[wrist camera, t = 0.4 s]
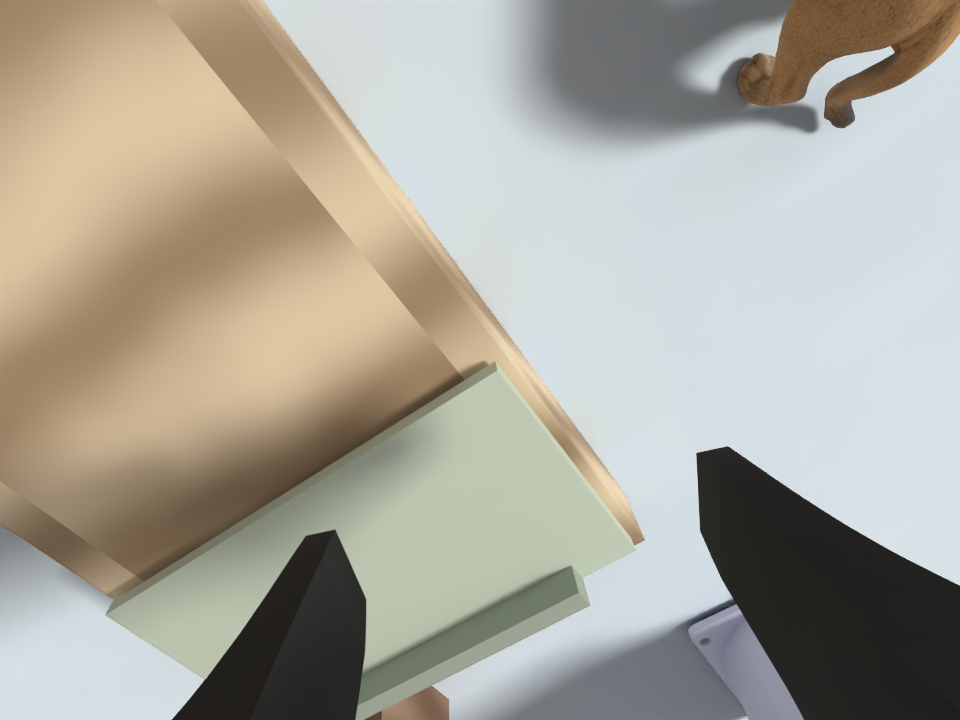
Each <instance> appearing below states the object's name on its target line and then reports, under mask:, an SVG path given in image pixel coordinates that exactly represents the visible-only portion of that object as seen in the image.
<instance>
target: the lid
mask: <svg viewBox="0 0 960 720" xmlns="http://www.w3.org/2000/svg"><path fill="white" fill-rule="evenodd" d="M330 530H336V532H337V534H338V536H339V539H340V541H341V543H342V545H343V548H344V550H345V552H346V554H347V557H348V559H349V561H350V563H351V566H352V568H353V570H354V573H355V575H356V577H357V579H358V582H359V584H360V586H361V588H362V591H363V593H364V595H365V597H366V644H365V657H364V664H363V671H362V679H361V686H360V693H359V700H358V706H357V713H356V720H364V719H366V718H368V717H370V716H372V715H374V714H376V713H378V712H380V711H382V710H384V709H386V708H388V707H390V706H392V705H394V704H396V703H398V702H400V701H402V700H404V699H406V698H408V697H410V696H412V695H414V694H416V693H418V692H420V691H422V690H424V689H426V688H428V687H429V686H431V685H433V684H435V683H437V682H439V681H441V680H443V679H445V678H447V677H449V676H451V675H453V674H455V673H457V672H459V671H461V670H463V669H465V668H467V667H469V666H471V665H473V664H475V663H477V662H479V661H481V660H483V659H485V658H487V657H489V656H491V655H493V654H495V653H497V652H499V651H501V650H503V649H505V648H507V647H509V646H511V645H513V644H515V643H517V642H519V641H521V640H523V639H525V638H527V637H529V636H531V635H533V634H535V633H537V632H539V631H541V630H543V629H544V628H546V627H548V626H550V625H552V624H554V623H556V622H558V621H560V620H562V619H564V618H566V617H568V616H570V615H572V614H574V613H576V612H578V611H580V610H582V609H584V608H586V607H588V606H590V603H589V599H588V596H587V592H586V589H585V585H584V582H583V577H585V576H587V575H589V574H591V573H593V572H595V571H597V570H599V569H601V568H602V567H604V566H606V565H608V564H610V563H612V562H614V561H616V560H618V559H620V558H622V557H624V556H626V555H628V554H630V553H631V552H633V551H635V550H636V549H635V547H634V544H633V542H632V539H631V537H630V536H629V535H628V533H627V532H626V531H625V529H624V528H623V527H622V525H621V524H620V523H619V522H618V520H617V519H616V518H615V516H614V515H613V514H612V512H611V511H610V510H609V508H608V507H607V506H606V505H605V503H604V502H603V501H602V499H601V498H600V497H599V495H598V494H597V493H596V492H595V490H594V489H593V488H592V486H591V485H590V484H589V482H588V481H587V480H586V478H585V477H584V476H583V475H582V473H581V472H580V471H579V469H578V468H577V467H576V465H575V464H574V463H573V462H572V460H571V459H570V458H569V456H568V455H567V454H566V452H565V451H564V450H563V448H562V447H561V446H560V445H559V443H558V442H557V441H556V439H555V438H554V437H553V435H552V434H551V433H550V431H549V430H548V429H547V428H546V426H545V425H544V424H543V422H542V421H541V420H540V418H539V417H538V416H537V415H536V413H535V412H534V411H533V409H532V408H531V407H530V405H529V404H528V403H527V401H526V400H525V399H524V398H523V396H522V395H521V394H520V392H519V391H518V390H517V388H516V387H515V386H514V385H513V383H512V382H511V381H510V379H509V378H508V377H507V375H506V374H505V373H504V371H503V370H502V369H501V368H500V366H499V365H498V364H497V362H496V361H494V362H493V363H491V364H490V365H488V366H486V367H485V368H483V369H482V370H480V371H479V372H477V373H475V374H474V375H472V376H471V377H469V378H467V379H466V380H464V381H463V382H461V383H459V384H458V385H456V386H455V387H453V388H451V389H450V390H448V391H447V392H445V393H444V394H442V395H440V396H439V397H437V398H436V399H434V400H432V401H431V402H429V403H428V404H426V405H424V406H423V407H421V408H420V409H418V410H416V411H415V412H413V413H412V414H410V415H409V416H407V417H405V418H404V419H402V420H401V421H399V422H397V423H396V424H394V425H393V426H391V427H389V428H388V429H386V430H385V431H383V432H381V433H380V434H378V435H377V436H375V437H374V438H372V439H370V440H369V441H367V442H366V443H364V444H362V445H361V446H359V447H358V448H356V449H354V450H353V451H351V452H350V453H348V454H346V455H345V456H343V457H342V458H340V459H338V460H337V461H335V462H334V463H332V464H331V465H329V466H327V467H326V468H324V469H323V470H321V471H319V472H318V473H316V474H315V475H313V476H311V477H310V478H308V479H307V480H305V481H303V482H302V483H300V484H299V485H297V486H296V487H294V488H292V489H291V490H289V491H288V492H286V493H284V494H283V495H281V496H280V497H278V498H276V499H275V500H273V501H272V502H270V503H268V504H267V505H265V506H264V507H262V508H261V509H259V510H257V511H256V512H254V513H253V514H251V515H249V516H248V517H246V518H245V519H243V520H241V521H240V522H238V523H237V524H235V525H233V526H232V527H230V528H229V529H227V530H226V531H224V532H222V533H221V534H219V535H218V536H216V537H214V538H213V539H211V540H210V541H208V542H206V543H205V544H203V545H202V546H200V547H198V548H197V549H195V550H194V551H192V552H191V553H189V554H187V555H186V556H184V557H183V558H181V559H179V560H178V561H176V562H175V563H173V564H171V565H170V566H168V567H167V568H165V569H163V570H162V571H160V572H159V573H157V574H156V575H154V576H152V577H151V578H149V579H148V580H146V581H144V582H143V583H141V584H140V585H138V586H136V587H135V588H133V589H132V590H130V591H128V592H127V593H125V594H124V595H122V596H121V597H119V598H117V599H116V600H114V601H113V603H112V604H111V606H110V608H109V609H108V611H107V613H106V616H107V617H109V618H110V619H112V620H114V621H115V622H117V623H118V624H120V625H121V626H123V627H124V628H126V629H127V630H129V631H131V632H132V633H134V634H135V635H137V636H138V637H140V638H141V639H143V640H144V641H146V642H148V643H149V644H151V645H152V646H154V647H155V648H157V649H158V650H160V651H162V652H163V653H165V654H166V655H168V656H169V657H171V658H172V659H174V660H175V661H177V662H179V663H180V664H182V665H183V666H185V667H186V668H188V669H189V670H191V671H193V672H194V673H196V674H197V675H199V676H200V677H202V678H203V679H206V678H207V677H208V675H209V674H210V673H211V671H212V670H213V669H214V667H215V666H216V665H217V663H218V662H219V661H220V659H221V658H222V657H223V655H224V654H225V653H226V651H227V650H228V649H229V647H230V646H231V644H232V643H233V642H234V640H235V639H236V638H237V636H238V635H239V634H240V632H241V631H242V629H243V628H244V627H245V625H246V624H247V622H248V621H249V619H250V618H251V616H252V615H253V613H254V612H255V611H256V609H257V608H258V606H259V605H260V603H261V602H262V600H263V599H264V598H265V596H266V595H267V593H268V592H269V590H270V588H271V587H272V585H273V584H274V582H275V581H276V579H277V578H278V576H279V575H280V573H281V572H282V570H283V569H284V567H285V566H286V564H287V563H288V561H289V560H290V558H291V557H292V555H293V554H294V552H295V551H296V549H297V548H298V546H299V545H300V543H301V542H302V541H303V539H304V538H305V536H307V535H311V534H316V533H321V532H326V531H330Z"/></svg>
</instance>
